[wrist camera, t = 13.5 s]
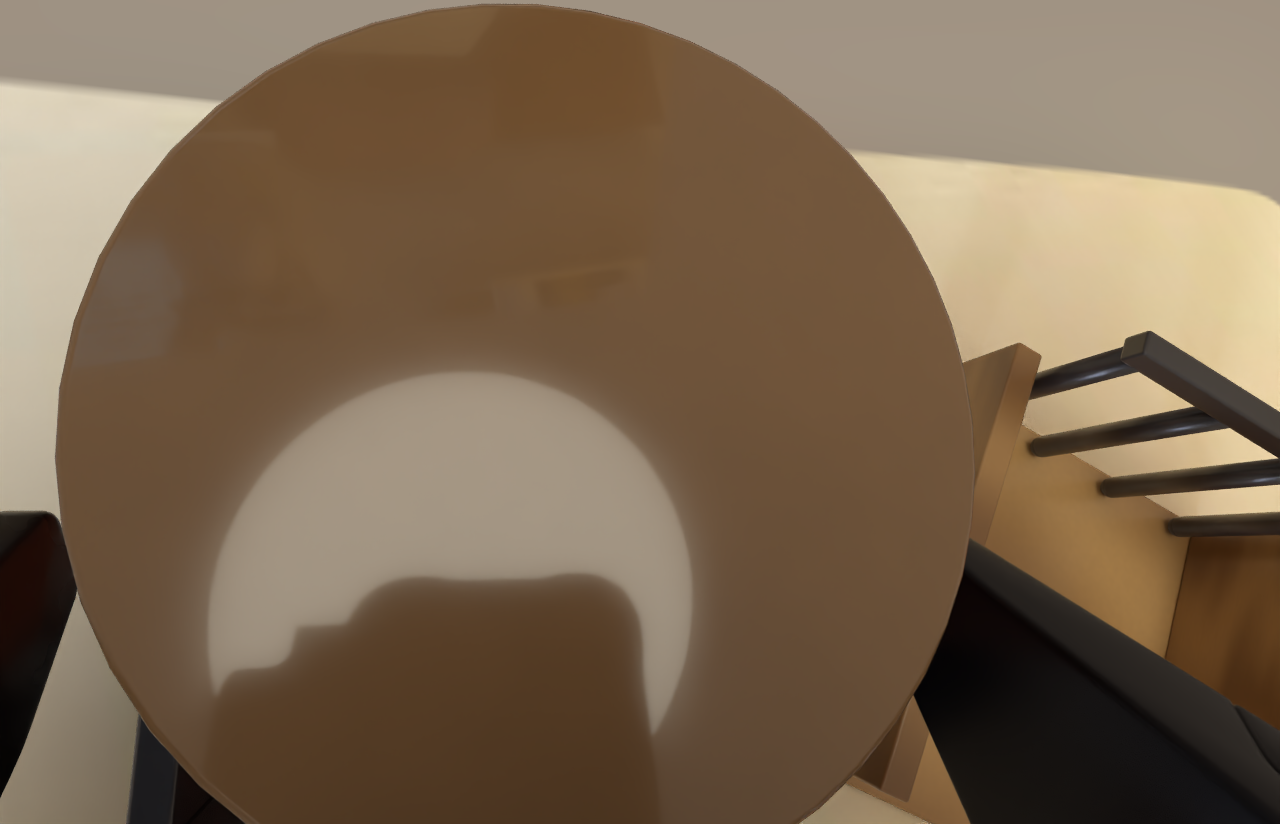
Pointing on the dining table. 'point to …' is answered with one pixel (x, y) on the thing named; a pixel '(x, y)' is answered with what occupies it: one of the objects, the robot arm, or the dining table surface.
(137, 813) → the black open box
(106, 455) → the canister
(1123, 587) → the dish rack
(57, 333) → the dining table surface
